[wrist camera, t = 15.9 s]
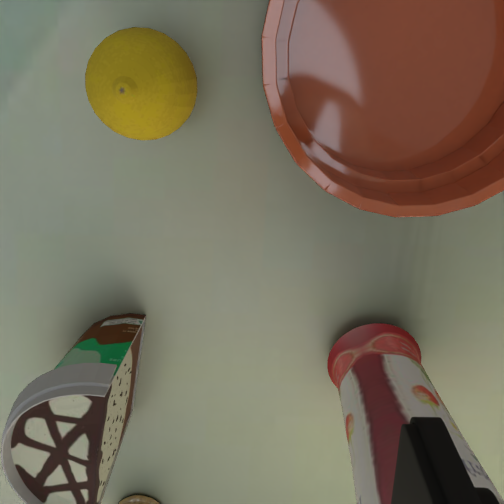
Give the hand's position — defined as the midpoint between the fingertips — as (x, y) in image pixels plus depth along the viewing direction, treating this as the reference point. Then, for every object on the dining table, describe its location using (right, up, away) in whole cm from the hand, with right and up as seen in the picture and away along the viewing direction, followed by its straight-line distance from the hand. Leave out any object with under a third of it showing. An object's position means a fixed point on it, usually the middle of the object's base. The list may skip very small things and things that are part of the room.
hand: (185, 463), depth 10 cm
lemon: (-4, +15, +18) cm, 24 cm away
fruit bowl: (+10, +16, +17) cm, 26 cm away
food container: (-10, -4, +26) cm, 28 cm away
